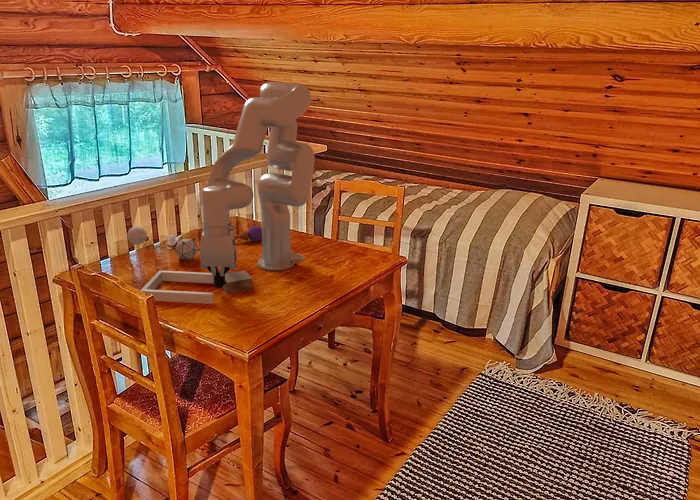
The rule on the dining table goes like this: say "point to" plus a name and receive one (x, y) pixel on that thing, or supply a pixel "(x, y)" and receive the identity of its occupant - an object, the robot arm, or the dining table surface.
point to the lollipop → (137, 237)
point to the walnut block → (237, 282)
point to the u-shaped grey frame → (180, 295)
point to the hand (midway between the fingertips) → (219, 286)
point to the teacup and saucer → (172, 240)
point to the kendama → (251, 234)
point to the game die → (186, 248)
